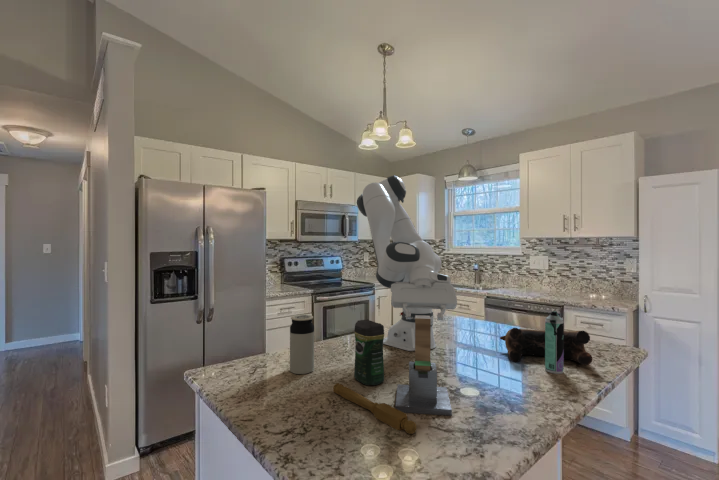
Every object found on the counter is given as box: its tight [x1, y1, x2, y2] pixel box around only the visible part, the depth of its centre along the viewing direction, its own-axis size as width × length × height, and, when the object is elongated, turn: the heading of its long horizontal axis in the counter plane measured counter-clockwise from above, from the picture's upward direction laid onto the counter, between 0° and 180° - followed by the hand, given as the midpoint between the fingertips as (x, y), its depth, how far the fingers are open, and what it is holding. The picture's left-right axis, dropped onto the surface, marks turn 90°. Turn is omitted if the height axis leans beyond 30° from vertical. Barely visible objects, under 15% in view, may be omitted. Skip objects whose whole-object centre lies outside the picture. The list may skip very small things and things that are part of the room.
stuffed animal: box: [499, 327, 593, 366], centre depth 140 cm, size 13×31×25 cm
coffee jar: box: [353, 319, 385, 386], centre depth 114 cm, size 10×8×19 cm
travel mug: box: [289, 314, 315, 375], centre depth 122 cm, size 8×8×18 cm
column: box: [414, 315, 432, 370], centre depth 99 cm, size 4×4×15 cm
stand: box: [394, 361, 453, 417], centre depth 99 cm, size 14×14×10 cm
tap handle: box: [332, 382, 418, 435], centre depth 93 cm, size 3×3×30 cm
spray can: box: [544, 310, 565, 375], centre depth 122 cm, size 6×6×20 cm
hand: (424, 318), depth 110 cm, fingers open, 8 cm apart
